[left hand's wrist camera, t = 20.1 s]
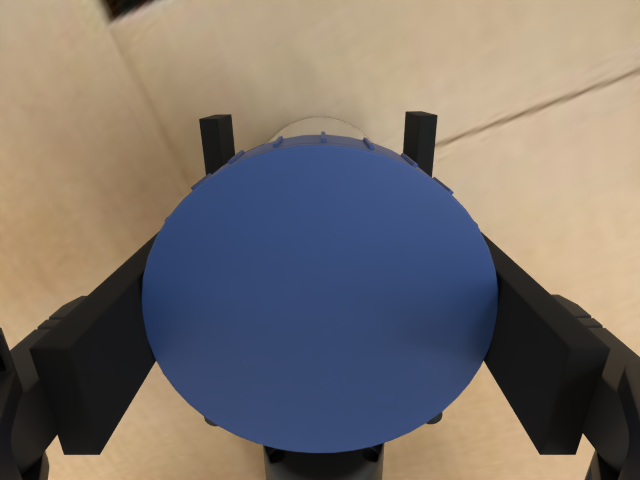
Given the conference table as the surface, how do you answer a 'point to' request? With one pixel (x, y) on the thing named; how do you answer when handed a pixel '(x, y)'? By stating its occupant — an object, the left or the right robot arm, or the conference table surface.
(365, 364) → the lid
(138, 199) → the conference table surface
